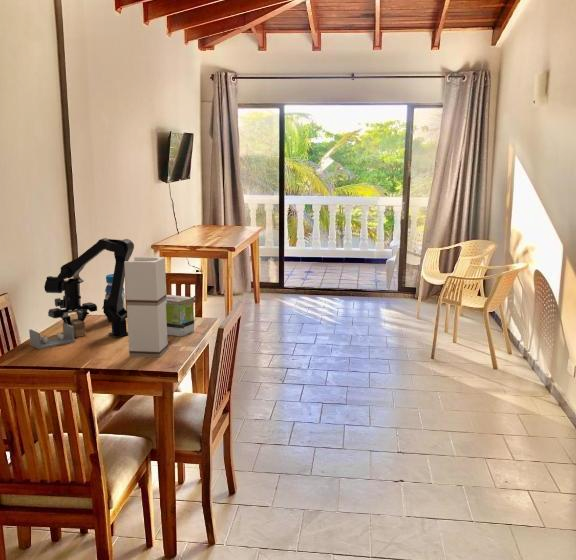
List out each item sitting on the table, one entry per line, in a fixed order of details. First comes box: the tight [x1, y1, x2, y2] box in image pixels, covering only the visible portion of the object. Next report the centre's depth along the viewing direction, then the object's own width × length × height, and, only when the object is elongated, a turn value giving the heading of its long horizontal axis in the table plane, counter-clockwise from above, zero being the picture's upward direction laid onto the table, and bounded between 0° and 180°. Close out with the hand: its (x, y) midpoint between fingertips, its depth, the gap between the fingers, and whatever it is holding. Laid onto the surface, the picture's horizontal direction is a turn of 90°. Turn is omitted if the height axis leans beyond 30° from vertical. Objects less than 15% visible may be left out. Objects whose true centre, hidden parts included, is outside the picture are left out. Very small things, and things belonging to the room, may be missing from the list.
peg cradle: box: [28, 322, 76, 350], centre depth 245 cm, size 14×9×6 cm, turn 134°
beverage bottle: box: [104, 273, 126, 320], centre depth 280 cm, size 8×8×20 cm
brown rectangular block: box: [62, 316, 86, 338], centre depth 259 cm, size 11×4×6 cm, turn 44°
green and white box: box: [166, 294, 195, 337], centre depth 259 cm, size 15×10×15 cm, turn 62°
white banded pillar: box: [124, 256, 170, 358], centre depth 230 cm, size 11×11×35 cm
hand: (74, 330), depth 259 cm, fingers closed on brown rectangular block, 4 cm apart
